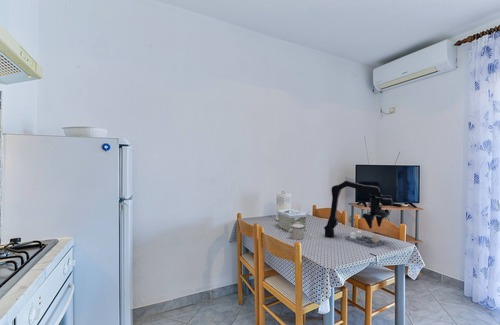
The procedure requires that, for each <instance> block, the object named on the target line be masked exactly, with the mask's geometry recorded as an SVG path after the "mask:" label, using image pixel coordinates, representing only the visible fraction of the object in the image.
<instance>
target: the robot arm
mask: <svg viewBox="0 0 500 325" xmlns="http://www.w3.org/2000/svg"><path fill="white" fill-rule="evenodd" d="M346 187H348V188H352V189H356V190H359V191H363V192H366V193H367V194H369V195H368V196H366V198H367V199H369V200H370V202H369V205H368V208H369V209H370V210H369V211H368V212H365V213H363V214H362V218H363V219H364V220H365V222H366V224H367V225H368V228H369V229H370V230H371V229H372V228H373V227H372V226H373V221H374V220H375V219H376V223H377V227H378V228H380V227H381V224H382V221H383V220H384V219H385V218H388V216H389V215H390V210H389V209H387V208H386V209H383V208H382V206H385V207H392V206H393V196H392V195H383V194H382V192H381V190H380V188H379V186H376V185H366V184H362V183H358V182H353V181H349V180H345V181H342V182H341V183H339V184H336V185H335V184H334V185H332V186H331V196H332V198H331V206H330V208H331V209H330V214H329V218H328V220H327V224H326V225H325V226H324V227H323V229H324V237H325V238H327V239H329V238H331V239H332V238H334V237H335V227H337V225H338V224H339V218H337V211H338V203H339V198H340V195H341V192H342V189H344V188H346ZM380 205H382V206H380Z"/></svg>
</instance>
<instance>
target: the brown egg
mask: <svg viewBox="0 0 500 325" xmlns="http://www.w3.org/2000/svg"><path fill="white" fill-rule="evenodd" d="M371 238H372V241H373V242H376V243H379V240H380V237H379V236H378V235H376V234H375V235H373V236H372V237H371Z"/></svg>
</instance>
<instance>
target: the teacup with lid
mask: <svg viewBox="0 0 500 325" xmlns="http://www.w3.org/2000/svg"><path fill="white" fill-rule="evenodd" d="M291 230H292V232H290V231H291ZM288 234H289V235H290V236H291V237H292V239H294V240H303V239H304V238H305V231H304V226H303V225H301V224H299V222H297V223H296V224H294V225H292V229H290V230H289V231H288Z"/></svg>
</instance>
